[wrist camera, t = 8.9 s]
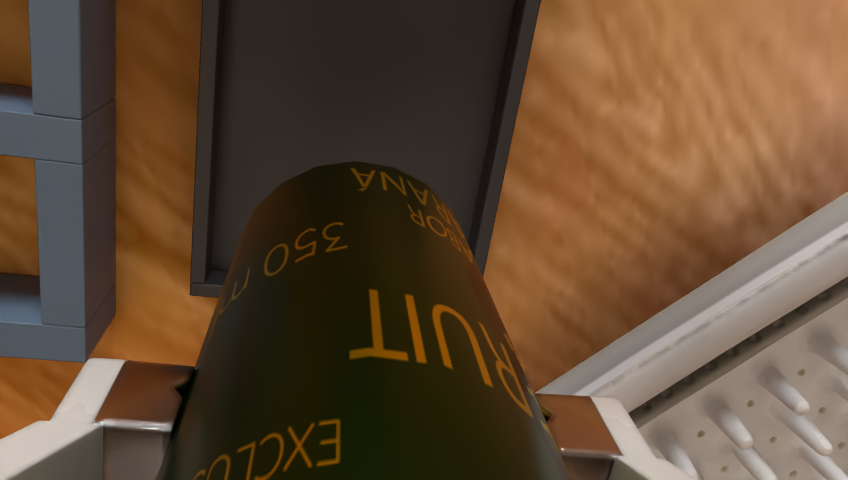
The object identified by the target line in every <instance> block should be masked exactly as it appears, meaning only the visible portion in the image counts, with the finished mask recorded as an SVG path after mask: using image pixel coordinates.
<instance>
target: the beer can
mask: <svg viewBox="0 0 848 480" xmlns="http://www.w3.org/2000/svg"><path fill="white" fill-rule="evenodd" d="M156 480H572V479H571V477H570V474H569V472H568V470H567V468H566V465H565V463H564V461H563V459H562V456H561V454H560V452H559V449H558V447H557V445H556V443H555V440H554V438H553V436H552V434H551V431H550V429H549V427H548V425H547V422H546V420H545V418H544V415H543V413H542V411H541V409H540V406H539V404H538V402H537V400H536V397H535V395H534V393H533V390H532V388H531V386H530V384H529V381H528V379H527V377H526V375H525V372H524V370H523V368H522V366H521V363H520V361H519V359H518V356H517V354H516V352H515V350H514V347H513V345H512V343H511V341H510V338H509V336H508V334H507V331H506V329H505V327H504V325H503V322H502V320H501V318H500V316H499V313H498V311H497V309H496V306H495V304H494V302H493V300H492V297H491V295H490V293H489V291H488V288H487V286H486V284H485V282H484V279H483V277H482V275H481V272H480V270H479V268H478V266H477V263H476V261H475V259H474V257H473V254H472V252H471V250H470V247H469V245H468V243H467V241H466V239H465V236H464V234H463V232H462V230H461V228H460V226H459V224H458V221H457V219H456V217H455V215H454V213H453V211H452V209H451V208H450V207H449V206H448V205H447V204H446V203H445V202H444V201H443V200H442V199H441V198H440V197H439V196H438V195H437V194H436V193H435V192H434V191H433V190H432V189H431V188H430V187H429V186H428V185H427V184H425V183H423V182H422V181H420V180H418V179H416V178H414V177H412V176H410V175H408V174H406V173H404V172H402V171H400V170H398V169H396V168H394V167H389V166H383V165H377V164H371V163H365V162H359V161H351V162H344V163H337V164H330V165H322V166H316V167H314V168H312V169H310V170H308V171H306V172H304V173H302V174H299V175H297V176H295V177H293V178H291V179H289V180H287V181H285V182H283V183H281V184H280V185H279V186H278V187H277V188H276V189H275V190H274V191H273V192H272V193H271V194H270V195H269V196H268V197H267V198H266V199H264V200H263V201H262V202H261V203H260V204H259V205H258V206H257V207H256V208H255V209H254V211H253V213H252V215H251V217H250V219H249V221H248V223H247V225H246V227H245V229H244V231H243V233H242V235H241V237H240V239H239V241H238V244H237V247H236V250H235V253H234V256H233V258H232V261H231V264H230V267H229V270H228V273H227V276H226V279H225V282H224V285H223V287H222V290H221V293H220V296H219V299H218V302H217V305H216V308H215V311H214V313H213V316H212V319H211V322H210V325H209V328H208V331H207V334H206V337H205V340H204V342H203V345H202V348H201V351H200V354H199V357H198V360H197V363H196V366H195V373H194V376H193V379H192V382H191V385H190V388H189V391H188V393H187V395H186V397H185V399H184V402H183V404H182V411H181V414H180V417H179V420H178V423H177V426H176V429H175V432H174V435H173V437H172V440H171V443H170V445H169V446H168V448H167V450H166V452H165V455H164V458H163V461H162V464H161V467H160V470H159V473H158V476H157V479H156Z"/></svg>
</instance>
